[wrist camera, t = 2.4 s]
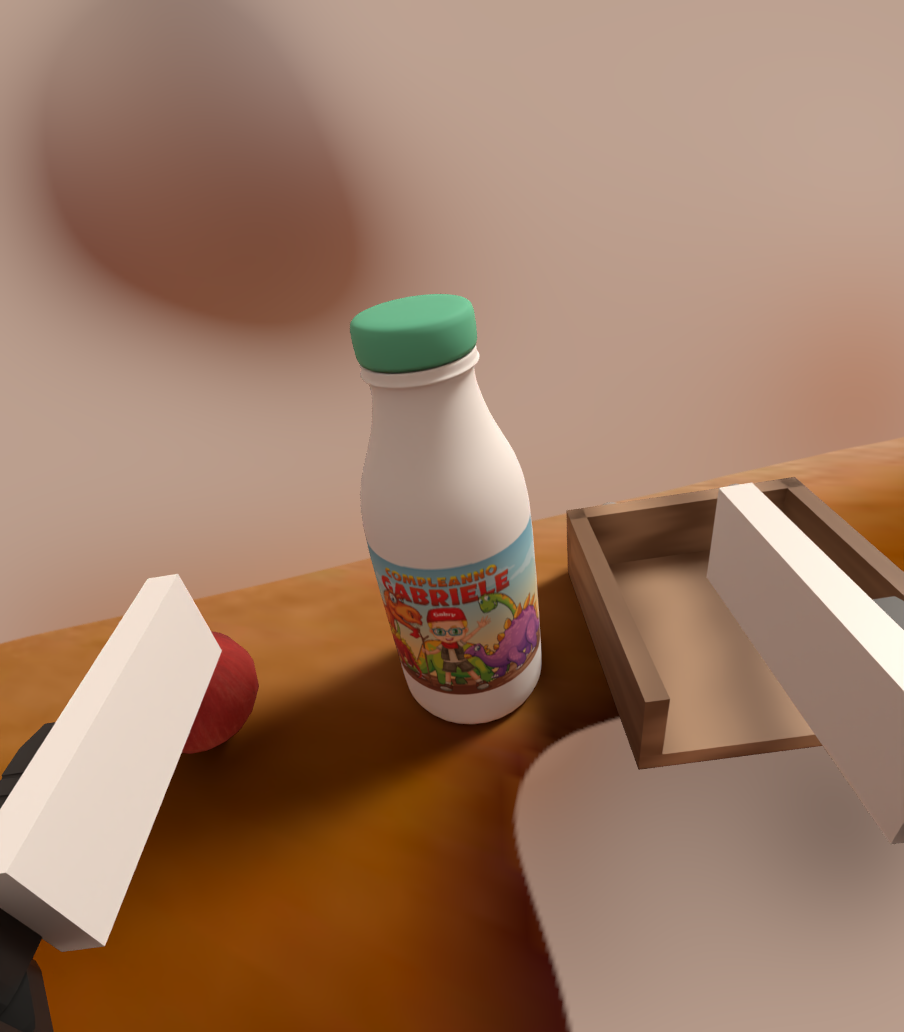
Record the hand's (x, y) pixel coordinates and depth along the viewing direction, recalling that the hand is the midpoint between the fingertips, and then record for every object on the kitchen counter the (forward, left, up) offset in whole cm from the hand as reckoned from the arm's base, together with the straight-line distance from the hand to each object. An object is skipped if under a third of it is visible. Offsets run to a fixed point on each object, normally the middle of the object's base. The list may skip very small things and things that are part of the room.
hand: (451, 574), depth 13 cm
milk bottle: (0, +10, -16) cm, 19 cm away
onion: (-14, +8, -16) cm, 23 cm away
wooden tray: (+14, +10, -16) cm, 23 cm away
